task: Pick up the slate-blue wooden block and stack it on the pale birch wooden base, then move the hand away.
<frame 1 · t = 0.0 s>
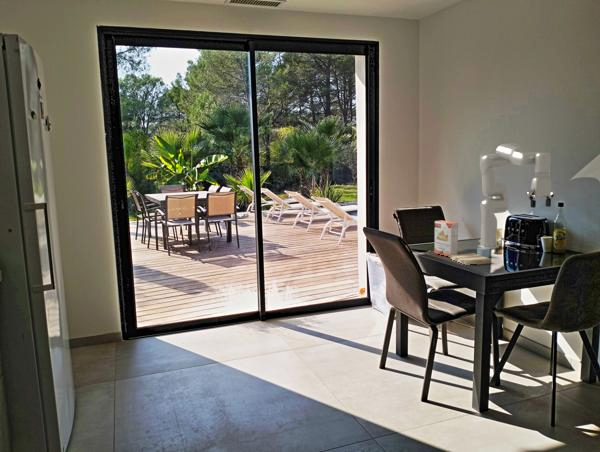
hand: (540, 206, 266), 31 cm above the table, tool pointing down, fingers open, 9 cm apart
slate block: (483, 256, 288), on the table
cracker box: (445, 256, 293), on the table
birch base: (470, 261, 277), on the table
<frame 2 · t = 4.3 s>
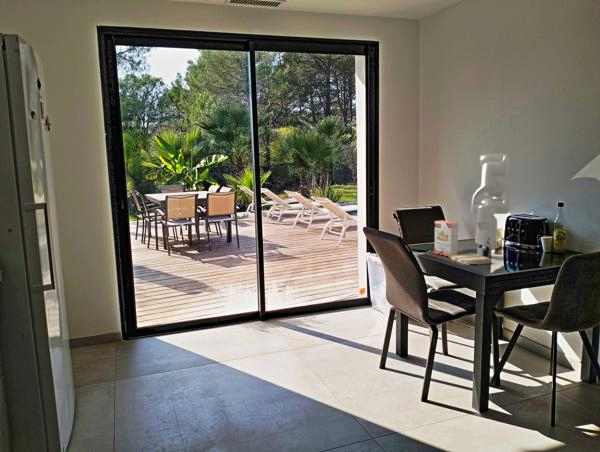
hand: (483, 255, 288), 1 cm above the table, tool pointing down, fingers closed on slate block, 5 cm apart
slate block: (483, 256, 288), on the table, touching gripper
everything else where it was.
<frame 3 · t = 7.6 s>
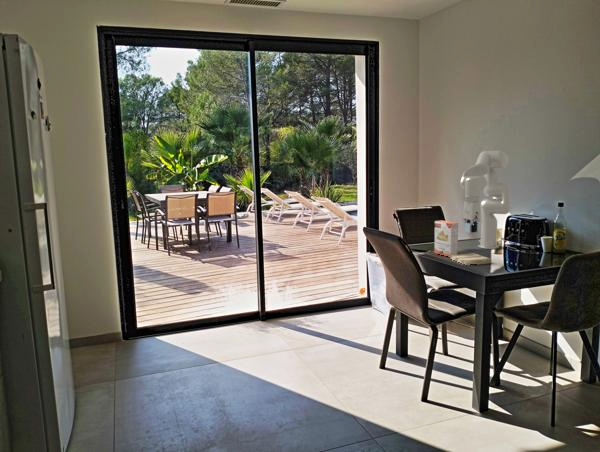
hand: (471, 230, 275), 18 cm above the table, tool pointing down, fingers closed on slate block, 5 cm apart
slate block: (471, 232, 275), point 17 cm above the table, touching gripper
everything else where it was.
when the fingers open (5 cm above the table, at t = 10.9 s): slate block drops 1 cm, resting on birch base.
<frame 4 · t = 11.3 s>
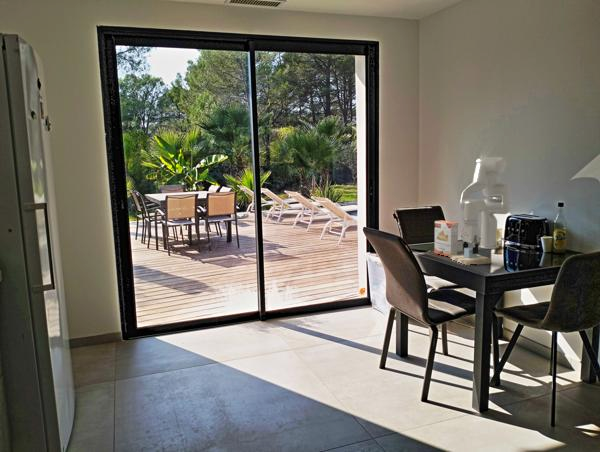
hand: (470, 251, 276), 5 cm above the table, tool pointing down, fingers open, 9 cm apart
slate block: (470, 257, 277), point 2 cm above the table, touching birch base
everything else where it was.
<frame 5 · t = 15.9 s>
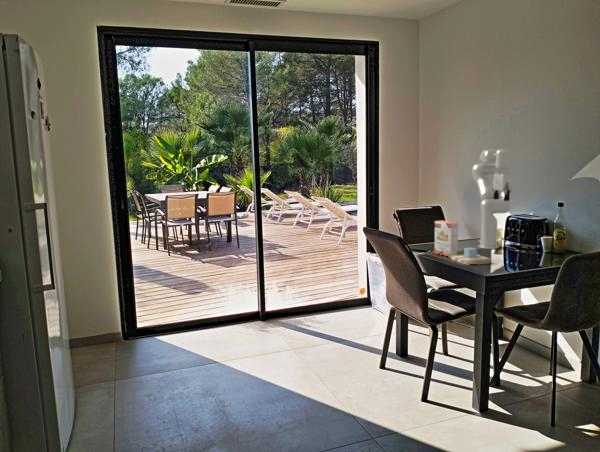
hand: (501, 200, 286), 33 cm above the table, tool pointing down, fingers open, 9 cm apart
nothing on the table moved.
at the end: slate block inside the target area on the birch base (0.1 cm from its centre), point 2.5 cm above the birch base's base; slate block tilted 0°; the gripper is holding nothing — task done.
